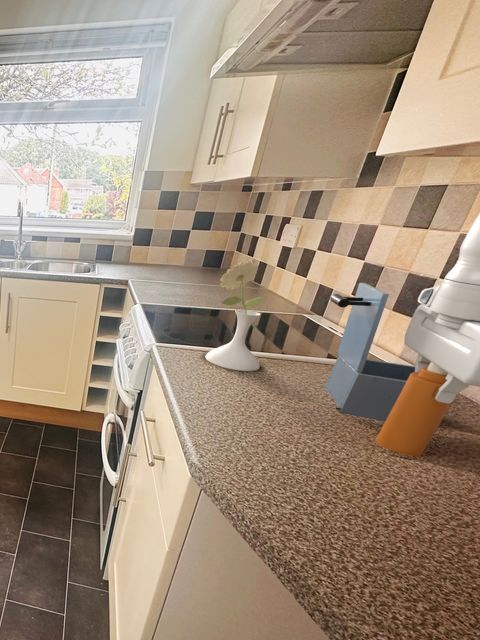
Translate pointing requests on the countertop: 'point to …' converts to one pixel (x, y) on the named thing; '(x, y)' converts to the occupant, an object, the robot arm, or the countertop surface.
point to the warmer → (367, 387)
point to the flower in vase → (236, 351)
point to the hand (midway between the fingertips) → (429, 391)
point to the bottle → (415, 413)
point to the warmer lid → (360, 323)
